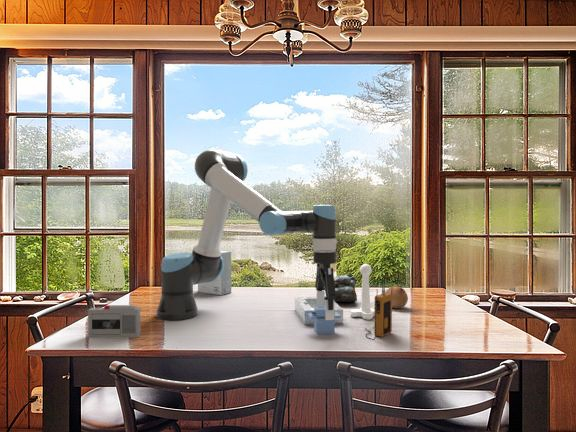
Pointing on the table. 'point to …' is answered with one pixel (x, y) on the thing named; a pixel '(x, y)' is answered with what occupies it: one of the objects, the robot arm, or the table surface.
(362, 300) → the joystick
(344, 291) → the dark grey rock
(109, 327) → the cassette player
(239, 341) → the table surface
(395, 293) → the onion
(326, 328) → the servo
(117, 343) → the table surface
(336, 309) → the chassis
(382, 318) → the multimeter
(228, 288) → the hard drive box
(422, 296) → the table surface
